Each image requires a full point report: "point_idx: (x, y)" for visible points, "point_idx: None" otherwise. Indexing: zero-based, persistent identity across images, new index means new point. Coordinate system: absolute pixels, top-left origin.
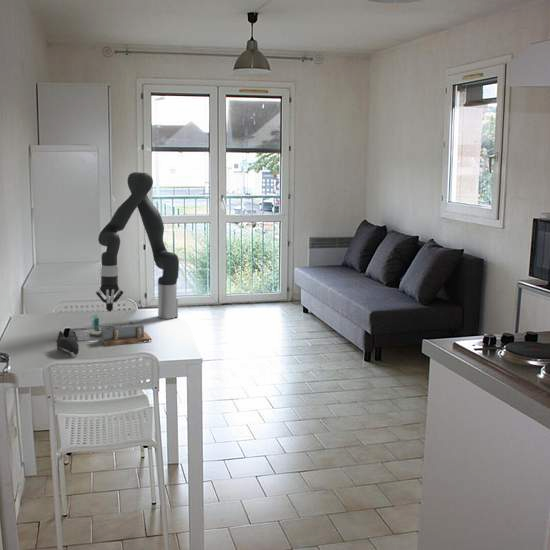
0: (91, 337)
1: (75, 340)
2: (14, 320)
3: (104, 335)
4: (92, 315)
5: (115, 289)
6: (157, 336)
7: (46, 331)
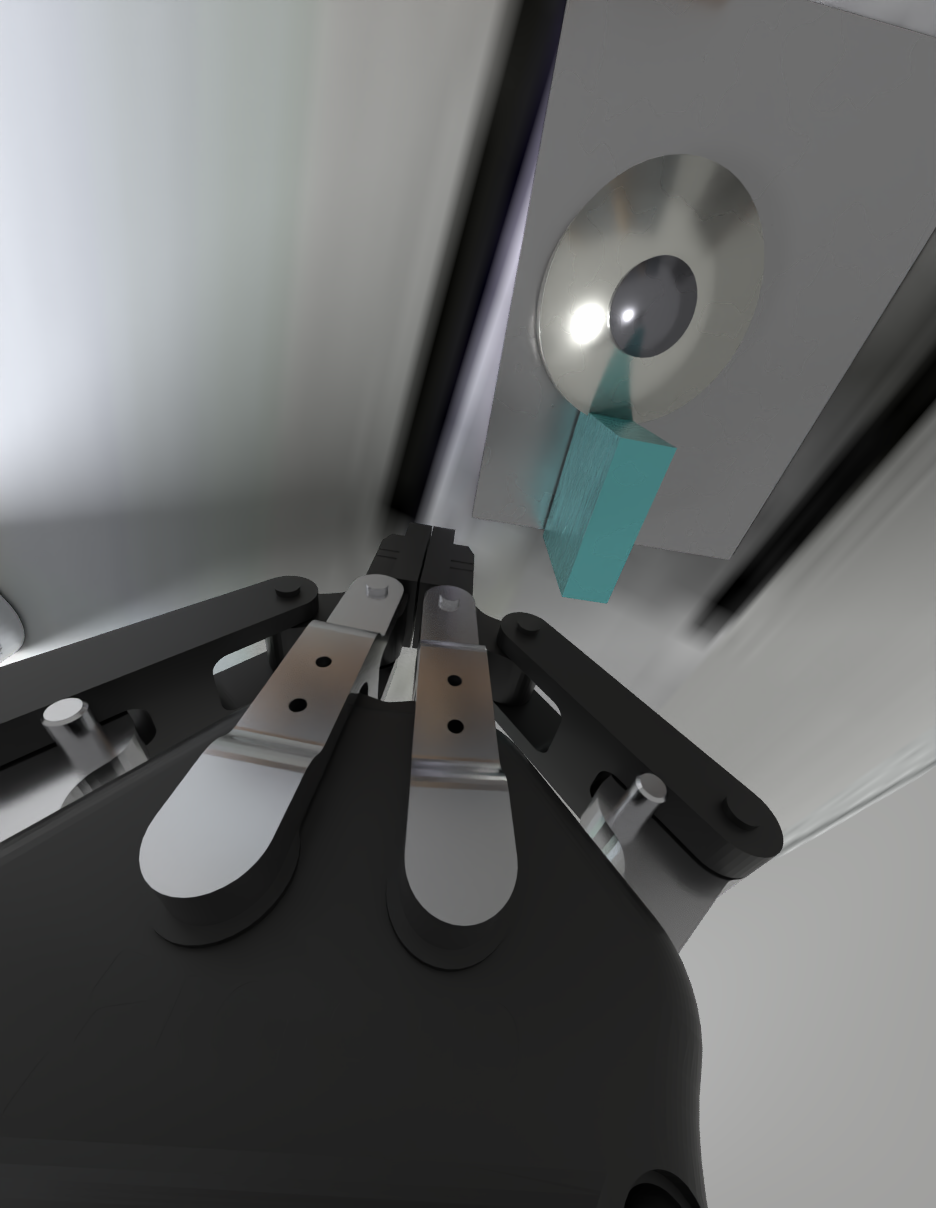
0: (796, 152)
1: None
2: (798, 827)
3: None
4: (605, 598)
5: (90, 876)
6: None
7: (870, 618)
